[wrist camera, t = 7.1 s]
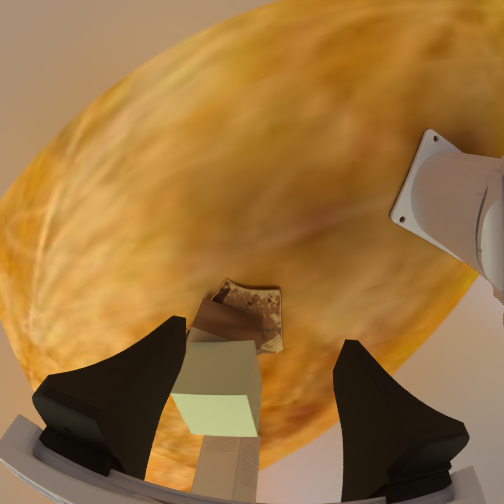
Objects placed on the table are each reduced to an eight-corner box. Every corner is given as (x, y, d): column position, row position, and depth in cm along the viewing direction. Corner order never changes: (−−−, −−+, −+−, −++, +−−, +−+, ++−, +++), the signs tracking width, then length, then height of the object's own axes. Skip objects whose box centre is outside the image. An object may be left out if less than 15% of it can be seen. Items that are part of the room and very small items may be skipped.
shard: (174, 345, 27) (168, 356, 25) (155, 276, 24) (147, 285, 22) (283, 344, 26) (283, 357, 24) (280, 271, 23) (280, 280, 21)
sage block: (254, 340, 19) (246, 395, 14) (262, 384, 20) (257, 436, 15) (191, 342, 19) (170, 393, 14) (206, 385, 21) (191, 434, 16)
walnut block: (262, 318, 23) (260, 350, 19) (242, 359, 24) (237, 391, 21) (204, 297, 22) (191, 326, 19) (190, 341, 24) (177, 371, 20)
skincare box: (224, 443, 32) (210, 518, 20) (203, 427, 31) (184, 507, 19) (263, 434, 30) (256, 517, 19) (243, 417, 29) (231, 507, 18)
